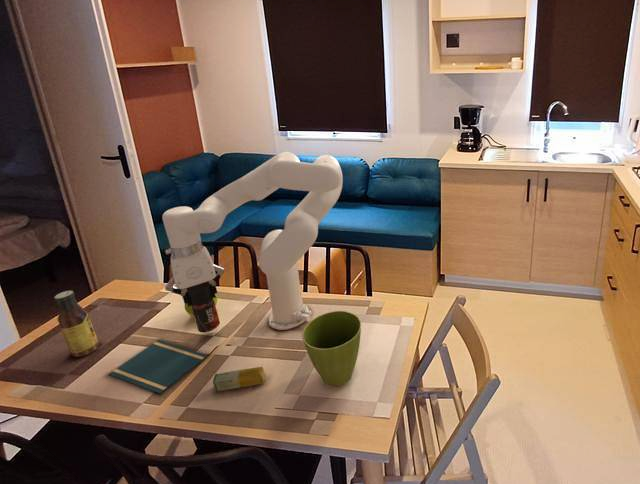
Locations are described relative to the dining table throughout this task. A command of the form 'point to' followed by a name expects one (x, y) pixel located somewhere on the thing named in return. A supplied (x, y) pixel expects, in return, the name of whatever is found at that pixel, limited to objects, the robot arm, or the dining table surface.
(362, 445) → the dining table surface
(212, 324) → the deodorant
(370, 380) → the dining table surface
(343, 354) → the flower pot
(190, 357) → the cloth
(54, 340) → the dining table surface
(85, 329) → the sauce bottle
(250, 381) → the medication box
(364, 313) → the dining table surface
